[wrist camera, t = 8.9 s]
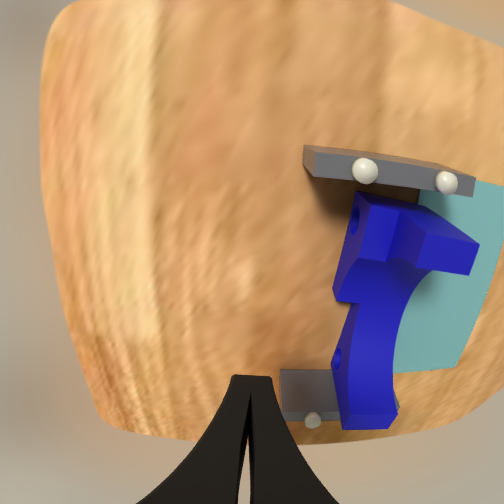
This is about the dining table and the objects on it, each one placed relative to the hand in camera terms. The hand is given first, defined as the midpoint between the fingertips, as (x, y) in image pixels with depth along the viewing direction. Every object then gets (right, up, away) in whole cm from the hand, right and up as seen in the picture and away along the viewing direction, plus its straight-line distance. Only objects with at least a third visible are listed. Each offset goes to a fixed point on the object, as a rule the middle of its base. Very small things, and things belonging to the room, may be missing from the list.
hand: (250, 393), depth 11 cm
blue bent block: (+7, +3, +8) cm, 11 cm away
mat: (+13, +3, +8) cm, 16 cm away
